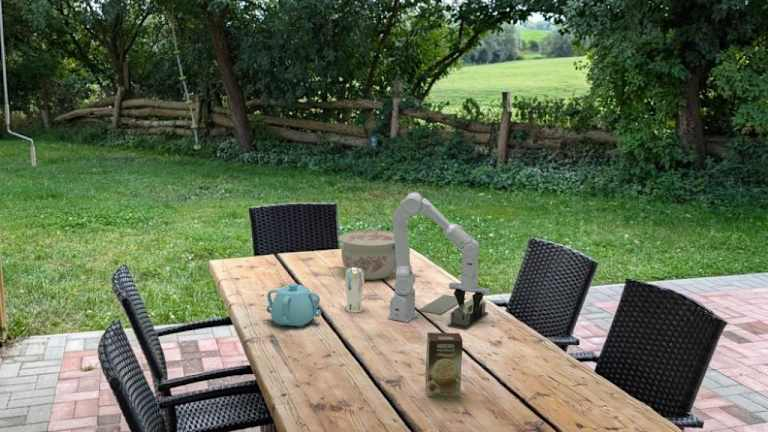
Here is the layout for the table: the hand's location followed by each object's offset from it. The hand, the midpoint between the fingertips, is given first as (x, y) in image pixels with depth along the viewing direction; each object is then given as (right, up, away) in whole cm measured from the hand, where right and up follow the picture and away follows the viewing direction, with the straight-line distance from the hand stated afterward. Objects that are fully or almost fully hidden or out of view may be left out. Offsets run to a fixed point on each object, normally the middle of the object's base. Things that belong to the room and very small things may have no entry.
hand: (468, 311), depth 265 cm
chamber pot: (-35, +8, +55) cm, 66 cm away
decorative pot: (-61, -3, -3) cm, 61 cm away
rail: (0, 0, 0) cm, 0 cm away
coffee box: (-13, -15, -58) cm, 62 cm away
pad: (-8, 0, +17) cm, 19 cm away
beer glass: (-40, -1, +11) cm, 42 cm away
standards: (0, -3, +1) cm, 3 cm away
